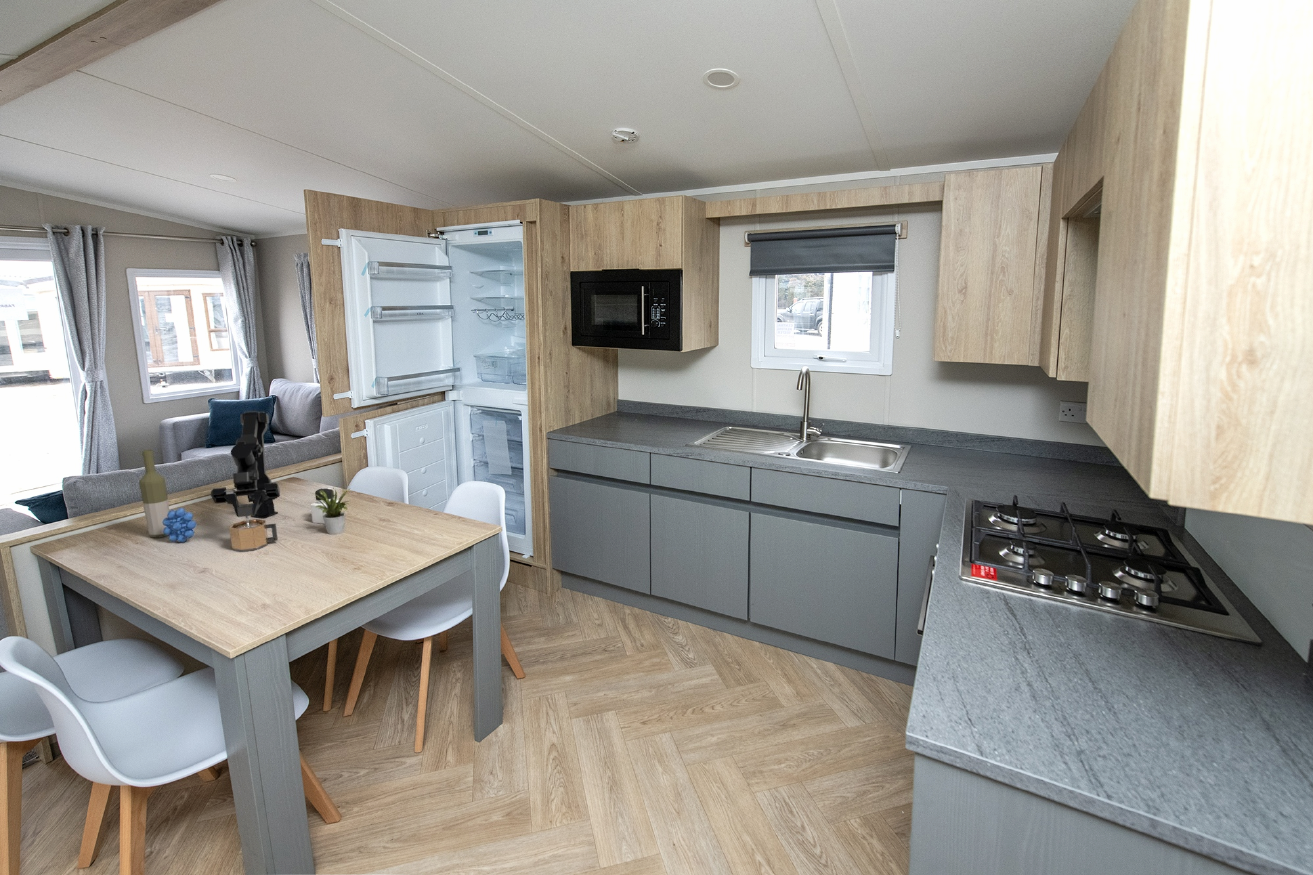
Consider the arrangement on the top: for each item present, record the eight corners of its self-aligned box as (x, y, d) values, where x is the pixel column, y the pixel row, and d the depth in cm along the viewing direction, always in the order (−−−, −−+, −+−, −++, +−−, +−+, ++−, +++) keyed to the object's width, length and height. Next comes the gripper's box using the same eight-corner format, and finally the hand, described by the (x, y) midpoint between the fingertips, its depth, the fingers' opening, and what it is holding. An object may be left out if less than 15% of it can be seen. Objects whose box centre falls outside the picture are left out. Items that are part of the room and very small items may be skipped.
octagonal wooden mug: (236, 543, 215) (233, 521, 214) (279, 537, 220) (277, 516, 219) (230, 553, 207) (227, 531, 205) (276, 547, 212) (273, 525, 210)
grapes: (208, 538, 220) (203, 504, 217) (192, 545, 213) (187, 511, 211) (176, 537, 221) (170, 503, 218) (159, 544, 214) (154, 509, 212)
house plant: (304, 541, 217) (298, 495, 214) (313, 527, 230) (308, 483, 227) (350, 537, 221) (345, 491, 217) (357, 524, 234) (353, 480, 231)
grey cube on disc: (237, 526, 213) (234, 503, 212) (262, 523, 216) (259, 501, 215) (233, 533, 207) (230, 510, 205) (259, 530, 210) (256, 507, 208)
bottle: (178, 533, 224) (164, 449, 218) (155, 540, 218) (141, 453, 212) (166, 530, 227) (152, 447, 221) (143, 537, 221) (129, 451, 214)
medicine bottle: (329, 524, 234) (326, 492, 231) (312, 523, 235) (308, 491, 233) (342, 518, 241) (339, 487, 238) (325, 516, 242) (322, 485, 240)
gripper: (207, 464, 207) (205, 507, 199) (274, 459, 214) (274, 500, 207) (216, 481, 216) (214, 523, 208) (280, 476, 223) (280, 516, 216)
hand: (245, 515), depth 209 cm, fingers open, 4 cm apart
